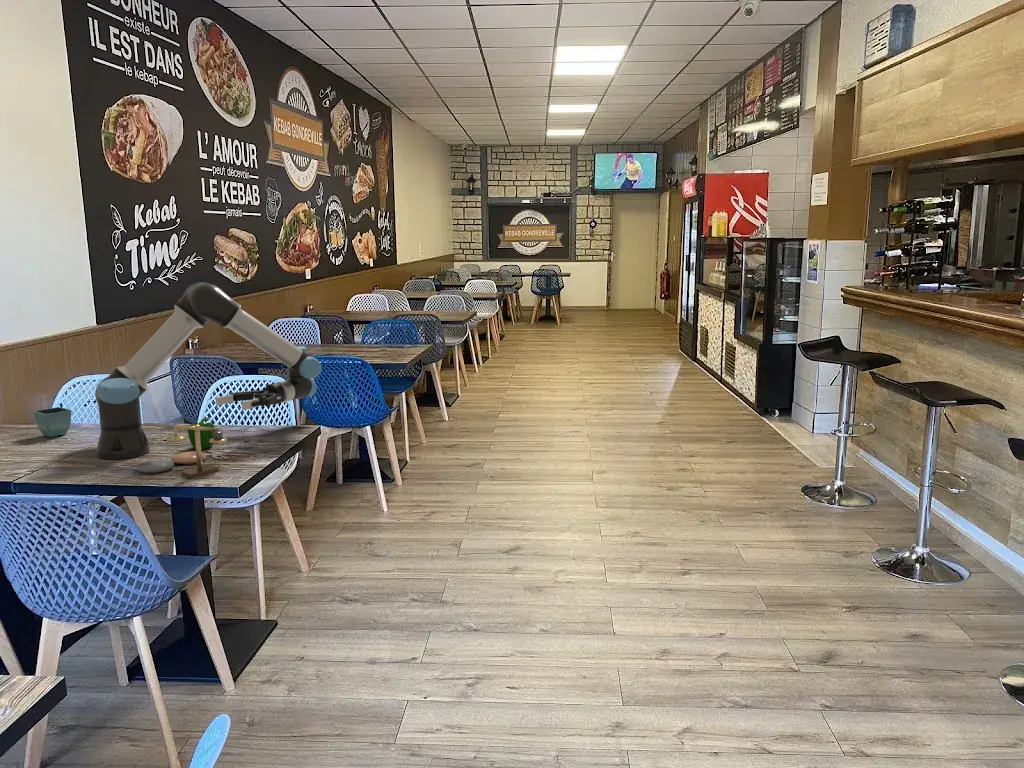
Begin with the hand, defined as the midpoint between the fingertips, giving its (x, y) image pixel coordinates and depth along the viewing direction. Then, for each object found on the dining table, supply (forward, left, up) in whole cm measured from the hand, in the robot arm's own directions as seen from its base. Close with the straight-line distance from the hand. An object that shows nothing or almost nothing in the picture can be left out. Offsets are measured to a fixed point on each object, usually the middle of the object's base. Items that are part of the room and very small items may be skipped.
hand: (229, 403), depth 252 cm
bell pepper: (0, -11, -13) cm, 17 cm away
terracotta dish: (+10, -23, -13) cm, 28 cm away
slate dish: (+10, -34, -13) cm, 38 cm away
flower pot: (-57, -29, -13) cm, 66 cm away
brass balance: (+24, -29, -13) cm, 40 cm away
